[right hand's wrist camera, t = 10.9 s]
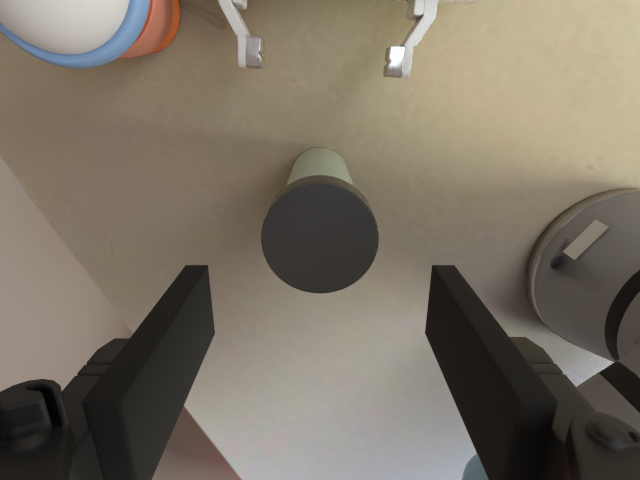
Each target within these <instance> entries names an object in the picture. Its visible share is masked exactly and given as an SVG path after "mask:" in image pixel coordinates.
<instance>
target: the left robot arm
mask: <svg viewBox="0 0 640 480" xmlns="http://www.w3.org/2000/svg"><path fill="white" fill-rule="evenodd" d="M394 1H409V2H408V11H407V20H408V21H414V20H415V19H416V20H415V23H414V25H413V26H412V28H411V29H410V31H409V32H408V34H407V35H406V37H405V38H404V40H403V42H402V43H401V45H400V46H389V47H388V48H386V53H385V61H386V65H385V66H384V75H383V76H384V77H391V78H409V75H410V70H411V63H412V55H413V48H414V47H416V45H417V44H418V43H419V41H420V40H421V38H422V37H423V35H424V34H425V32H426V31H427V29H428V28H429V26H430V25H431V23H432V22H433V21H434V19H435V18H436V12H437V6H438V4H453V5H473V4H475V3H477V2H479V1H481V0H394ZM218 3H219V5H220V6H221V8H222V10H223V12H224V14H225V16H226V18H227V20H228V22H229V24H230V26H231V28H232V30H233V32H234V34H235V35H236V36H237V52H238V66H239V67H240V68H253V69H264V58H263V56H262V54H263V53H264V40H263V39H262V38H261V37H252V36H251V35H250V33H249V31H248V29H247V27H246V25H245V23H244V21H243V19H242V17H241V15H240V13H239V11H238V8H239V9H244V10H245V9H246V8H247V0H218Z"/></svg>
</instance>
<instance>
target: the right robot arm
mask: <svg viewBox="0 0 640 480" xmlns="http://www.w3.org/2000/svg"><path fill="white" fill-rule="evenodd" d="M526 288H527V294H528V298H529V301H530V304H531V306H532V308H533V310H534V311H535V313H536V314H537V316H538V317H539V318H540V319H541V320H542V321H543V322H544V323H545V324H546V325H547V326H548V327H549V329H551V330H552V331H553V332H554V333H555V334H557V335H558V336H560V337H561V338H563V339H564V340H566V341H568V342H570V343H572V344H574V345H576V346H579V347H581V348H583V349H585V350H588V351H590V352H592V353H594V354H597V355H599V356H601V357H603V358H606V359H608V360H610V361H613V362H615V363H613V364H612V365H610V366H608V367H607V368H605V369H604V370H602V371H601V372H599V373H597V374H595V375H594V376H592V377H591V378H589V379H588V380H586V381H585V382H583V383H582V384H580V385H579V386H577V387H575V386H574V384H573V383H572V382H571V381H570V380H569V379H568V377H567V376H566V375H563V372H562V370H561V369H560V368H559V367H558V366H557V365H556V364H554V362H553V360H552V359H551V358H550V357H549V355H548V354H547V353H546V352H545V351H544V350H543V348H541V347H540V346H538V345H537V344H535V343H534V342H532V341H530V340H529V339H527V338H526V337H509V336H508V335H507V334H506V333H505V331H504V330H503V329H502V327H501V326H500V325H499V323H498V322H497V321H496V319H495V318H494V317H493V316H492V314H491V313H490V312H489V310H488V309H487V308H486V306H485V305H484V304H483V302H482V301H481V300H480V299H479V297H478V296H477V295H476V293H475V292H474V291H473V289H472V288H471V287H470V285H469V284H468V283H467V282H466V280H465V279H464V278H463V276H462V275H461V274H460V272H459V271H458V270H457V268H456V267H455V266H454V265H432V273H431V282H430V292H429V302H428V311H427V321H426V330H425V334H426V336H427V338H428V341H429V343H430V345H431V348H432V350H433V352H434V355H435V357H436V359H437V362H438V364H439V366H440V368H441V371H442V373H443V375H444V378H445V380H446V382H447V385H448V387H449V389H450V392H451V394H452V396H453V398H454V401H455V403H456V405H457V408H458V410H459V412H460V415H461V417H462V419H463V422H464V424H465V426H466V429H467V431H468V433H469V435H470V438H471V440H472V442H473V445H474V447H475V449H476V452H477V454H476V455H475V456H473V457H472V458H471V459H470V461H469V462H468V463H467V465H466V467H465V470H464V473H463V478H462V480H640V189H619V190H613V191H608V192H604V193H601V194H598V195H595V196H592V197H590V198H588V199H586V200H583V201H582V202H580V203H578V204H576V205H575V206H573V207H572V208H570V209H569V210H567V211H566V212H565V213H563V214H562V215H561V216H560V217H558V218H557V219H556V220H555V221H554V222H553V223H552V224H551V225H550V226H549V228H548V229H547V230H546V231H545V232H544V234H543V235H542V237H541V238H540V240H539V241H538V243H537V245H536V246H535V248H534V250H533V253H532V255H531V258H530V261H529V264H528V269H527V276H526ZM214 334H215V330H214V321H213V311H212V302H211V292H210V282H209V273H208V265H186V266H185V267H184V268H183V270H182V271H181V272H180V274H179V275H178V276H177V278H176V279H175V280H174V282H173V283H172V284H171V285H170V287H169V288H168V289H167V291H166V292H165V293H164V295H163V296H162V297H161V299H160V300H159V301H158V302H157V304H156V305H155V306H154V308H153V309H152V310H151V312H150V313H149V314H148V316H147V317H146V318H145V319H144V321H143V322H142V323H141V325H140V326H139V327H138V329H137V330H136V331H135V333H134V334H133V335H132V337H131V338H130V339H113V340H112V341H110V342H109V343H107V344H106V345H104V346H103V347H101V348H100V349H98V350H97V351H96V352H95V354H94V355H93V356H92V357H91V358H90V359H89V361H88V362H87V365H84V366H83V368H82V369H81V370H80V371H79V372H78V375H77V376H75V377H74V378H73V379H72V380H71V382H70V383H69V384H68V385H67V386H66V387H65V389H64V390H63V391H61V387H60V385H59V384H57V383H56V382H55V381H53V380H46V379H39V380H31V381H26V382H23V383H20V384H17V385H14V386H11V387H9V388H7V389H5V390H3V391H1V392H0V480H151V479H152V477H153V475H154V472H155V470H156V468H157V465H158V463H159V461H160V458H161V456H162V454H163V451H164V449H165V447H166V445H167V442H168V440H169V438H170V435H171V433H172V431H173V429H174V426H175V424H176V422H177V419H178V417H179V415H180V412H181V410H182V408H183V405H184V403H185V401H186V398H187V396H188V394H189V392H190V389H191V387H192V385H193V382H194V380H195V378H196V375H197V373H198V371H199V368H200V366H201V364H202V362H203V359H204V357H205V355H206V352H207V350H208V348H209V345H210V343H211V341H212V338H213V336H214Z"/></svg>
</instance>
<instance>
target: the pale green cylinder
mask: <svg viewBox="0 0 640 480" xmlns="http://www.w3.org/2000/svg"><path fill="white" fill-rule="evenodd" d="M313 175H327V176H333V177H336V178H340V179H342V180H344V181H346V182H348V183H350V184H351V185H353V182H352V179H351V177H350V174H349V171H348V168H347V165H346V163H345V161H344V160H343V158H342V157H341V156H340V155H339V154H338V153H336V152H335V151H333V150H331V149H328V148H324V147H317V148H312V149H309V150H307V151H305V152H304V153H302V154H301V155H300V156H299V157H298V158H297V160H296V161H295V163H294V165H293V168H292V171H291V174H290V176H289V179H288V182H287V185H289V184H290V183H292V182H294V181H296V180H298V179H301V178H303V177H307V176H313ZM287 185H286V186H287ZM353 186H354V185H353Z"/></svg>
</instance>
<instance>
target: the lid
mask: <svg viewBox="0 0 640 480" xmlns="http://www.w3.org/2000/svg"><path fill="white" fill-rule="evenodd" d="M261 242H262V249H263V253H264V256H265V258H266V261H267V263H268V264H269V266H270V268H271V269H272V270H273V272H274V273H275V274H276V275H277V276H278V277H279V278H280V279H281V280H283V281H284V282H285V283H287V284H288V285H290V286H292V287H294V288H296V289H299V290H302V291H305V292H311V293H330V292H335V291H338V290H341V289H344V288H346V287H348V286H350V285H352V284H353V283H355V282H356V281H357V280H359V279H360V278H361V277H362V276H363V275H364V274H365V273H366V272H367V270H368V269H369V268H370V266H371V264H372V263H373V261H374V258H375V256H376V253H377V249H378V242H379V235H378V228H377V224H376V220H375V218H374V215H373V213H372V211H371V208H370V206H369V204H368V202H367V200H366V199H365V197H364V196H363V195H362V194H361V193H360V191H359V190H358V189H356V188H355V187H354V186H353V185H351V184H350V183H348V182H346V181H344V180H342V179H340V178H336V177H333V176H327V175H313V176H307V177H303V178H301V179H298V180H296V181H294V182H292V183H290V184H289V185H287V186H286V187H285V188H284V189H283V190H282V191H280V192H279V194H278V195H277V196H276V197H275V199H274V201H273V202H272V204H271V206H270V209H269V211H268V213H267V216H266V218H265V220H264V224H263V227H262V234H261Z"/></svg>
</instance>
